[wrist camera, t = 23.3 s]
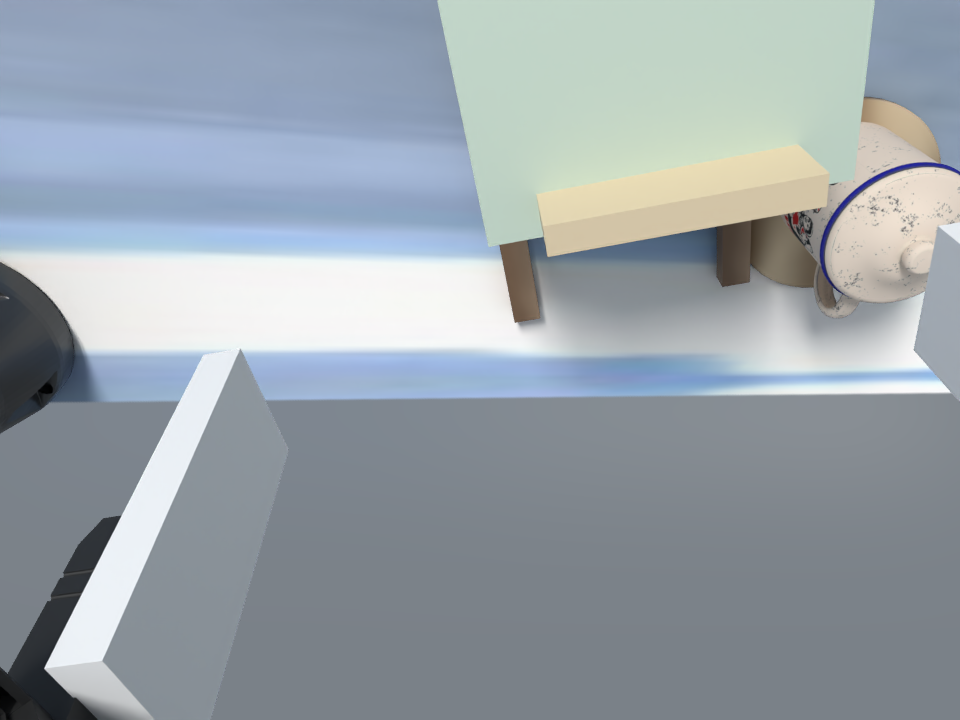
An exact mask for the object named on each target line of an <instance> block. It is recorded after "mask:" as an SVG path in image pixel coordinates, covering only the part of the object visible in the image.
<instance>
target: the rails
mask: <svg viewBox="0 0 960 720" xmlns="http://www.w3.org/2000/svg"><path fill="white" fill-rule="evenodd" d="M500 250H501V255H502V260H503V265H504V271H505V276H506V281H507V286H508V291H509V296H510V301H511V306H512V311H513V316H514V321H515V323H516V322H522V321H527V320H533V319H539V318H540V312H539V306H538V300H537V294H536V289H535V283H534V277H533V271H532V265H531V260H530V254H529V248H528V242H527V240H524V241H518V242H513V243H507V244H502V245H500ZM750 250H751V220H750V221H744V222H739V223H733V224H728V225H722V226H717V278H718V280H719V282H720V283H721V285H722V287H724V286H730V285H736V284H742V283H748V282H750Z"/></svg>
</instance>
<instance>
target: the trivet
mask: <svg viewBox="0 0 960 720" xmlns="http://www.w3.org/2000/svg"><path fill="white" fill-rule="evenodd" d="M861 122H868V123H874V124H877V125H880V126H883V127H885V128H887V129H888V130H890V131H892V132H893V133H895V134H896V135H898V136H899V137H900V138H902V139H903V140H905V141H906V142H908V143H909V144H911V145H912V146H914V147H915V148H917V149H918V150H920V151H921V152H923V153H924V154H926V155H927V156H929V157H930V158H932V159H933V160H935V161H936V162H937V163H940V154H939V149H938V146H937V143H936V141H935V138H934V136H933V134H932V133H931V131H930V129H929V128H928V126H927V125H926V124H925V123H924V122H923V121H922V120H921V119H920V118H919V117H917V116H916V115H915V114H913V113H912V112H911V111H909V110H907V109H906V108H904V107H902V106H900V105H898V104H896V103H894V102H891V101H887V100H884V99H880V98H872V97H864V98H863V107H862V115H861ZM940 164H941V163H940ZM750 263H751V265H752V266H753V267H754V268H755V269H756V270H758V271H759V272H760V273H761V274H763V275H764V276H766V277H768V278H769V279H771V280H774V281H776V282H779V283H781V284H785V285H789V286H795V287H814V276H815V271H816V267H817V264H818V262H817V261H816V260H815V259H814V258H813V256H812V255H811V254H810V253H809V252H808V250H807V249H806V248H805V247H804V246H803V245H802V243H801V242H800V241H799V240H798V239H797V237H796V236H795V235H794V234H793V233H792V232H791V230H790V229H789V228H788V227H787V226H786V224H785V223H784V221H783V219H782V217H781V215H777V216H772V217H766V218H761V219H755V220H751V250H750Z"/></svg>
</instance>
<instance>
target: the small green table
mask: <svg viewBox="0 0 960 720" xmlns="http://www.w3.org/2000/svg"><path fill="white" fill-rule="evenodd" d="M437 1H438V6H439V11H440V16H441V20H442V25H443V30H444V35H445V40H446V44H447V49H448V54H449V59H450V64H451V68H452V73H453V78H454V83H455V88H456V92H457V97H458V102H459V107H460V112H461V116H462V121H463V126H464V131H465V136H466V140H467V145H468V150H469V155H470V160H471V164H472V169H473V174H474V179H475V184H476V188H477V193H478V198H479V203H480V208H481V212H482V217H483V222H484V227H485V232H486V236H487V241H488V246H489V247H491V246H496V245H502V244H507V243H513V242H518V241H524V240H529V239H534V238H540V237H544V241H545V246H546V251H547V256H548V257H551V256H556V255H562V254H567V253H573V252H578V251H584V250H589V249H595V248H600V247H606V246H611V245H617V244H623V243H628V242H634V241H639V240H645V239H650V238H656V237H661V236H667V235H672V234H678V233H683V232H689V231H694V230H700V229H705V228H711V227H716V226H722V225H728V224H733V223H739V222H744V221H750V220H755V219H761V218H766V217H772V216H777V215H783V214H788V213H794V212H799V211H805V210H810V209H816V208H821V207H827V197H828V187H829V184H834V183H839V182H844V181H850V180H854V176H855V167H856V159H857V150H858V141H859V133H860V124H861V115H862V107H863V98H864V90H865V81H866V72H867V64H868V55H869V46H870V38H871V29H872V20H873V12H874V3H875V0H437Z"/></svg>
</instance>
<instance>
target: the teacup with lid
mask: <svg viewBox="0 0 960 720" xmlns="http://www.w3.org/2000/svg"><path fill="white" fill-rule="evenodd" d="M781 217H782V219H783V221H784V223H785V224H786V226H787V227H788V228H789V229H790V230H791V232H792V233H793V234H794V235H795V236H796V237H797V239H798V240H799V241H800V242H801V243H802V245H803V246H804V247H805V248H806V249H807V250H808V252H809V253H810V254H811V255H812V256H813V258H814V259H815V260H816V261H817V262H818V264H817V267H816V271H815V276H814V292H815V298H816V301H817V304H818V306H819V308H820V310H821V311H822V312H823V313H824V314H825V315H826V316H828V317H832V318H843V317H846V316H848V315H850V314H851V313H852V312H853V311H854V310H855V309H856V307H857V306H858V304H859V302H860V301H862V302H869V303H889V302H895V301H900V300H904V299H907V298H910V297H913V296H916V295H918V294H920V293H922V292H924V291H925V290H926V285H927V280H928V274H929V269H930V264H931V259H932V254H933V249H934V244H935V239H936V234H937V228H938V226H941V225H947V224H953V223H958V222H960V171H958V170H956V169H954V168H952V167H950V166H947V165H944V164H940V163H937V162H936V161H935V160H933V159H932V158H930V157H929V156H927V155H926V154H924V153H923V152H921V151H920V150H918V149H917V148H915V147H914V146H912V145H911V144H909V143H908V142H906V141H905V140H903V139H902V138H900V137H899V136H898V135H896V134H895V133H893V132H892V131H890V130H888V129H887V128H885V127H883V126H880V125H877V124H874V123H868V122H861V124H860V133H859V141H858V150H857V159H856V167H855V176H854V180H850V181H844V182H839V183H834V184H829V187H828V197H827V207H821V208H816V209H810V210H805V211H799V212H794V213H788V214H783V215H781ZM832 286H833V287H834V288H835V289H836V290H837V291H838V292H840V293H842V296H841V298H840V299H839V301H838V302H837V303H836V300H835V298H834V294H833V287H832Z"/></svg>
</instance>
